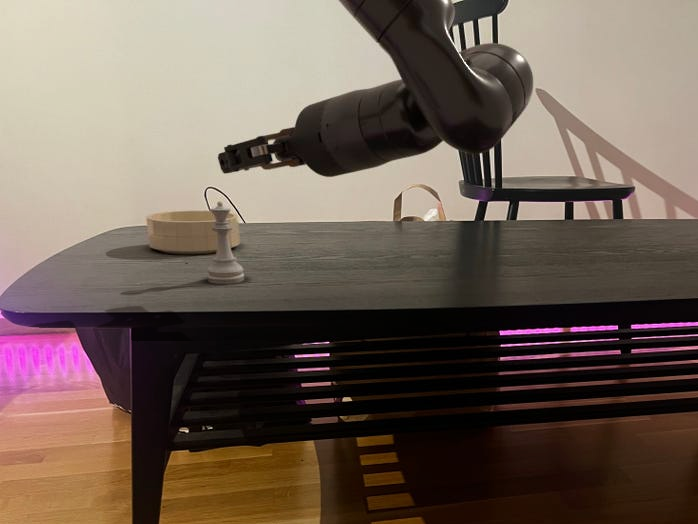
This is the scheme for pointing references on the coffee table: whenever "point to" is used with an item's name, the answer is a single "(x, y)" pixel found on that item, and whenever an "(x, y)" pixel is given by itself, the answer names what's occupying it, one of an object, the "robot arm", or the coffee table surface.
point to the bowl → (188, 232)
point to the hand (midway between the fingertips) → (253, 159)
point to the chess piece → (223, 252)
